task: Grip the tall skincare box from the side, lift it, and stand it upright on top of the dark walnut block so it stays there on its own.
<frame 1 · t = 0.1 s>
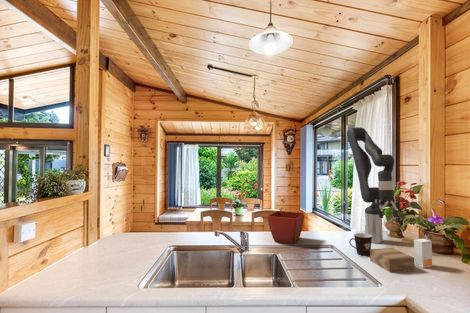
hand: (388, 217, 148), 17 cm above the worktop, tool pointing down, fingers open, 8 cm apart
coffee mug: (360, 254, 140), on the worktop
skincare box: (423, 266, 122), on the worktop
walnut block: (391, 266, 123), on the worktop
plant pot: (286, 240, 167), on the worktop
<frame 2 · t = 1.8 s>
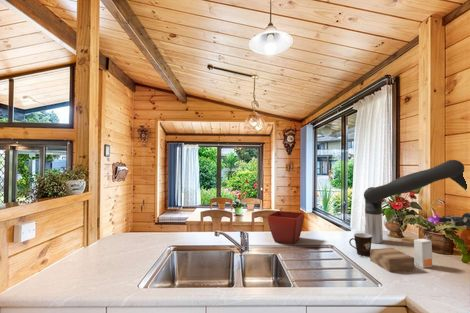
hand: (446, 222, 124), 20 cm above the worktop, tool horizontal, fingers open, 8 cm apart
nothing on the worktop moved.
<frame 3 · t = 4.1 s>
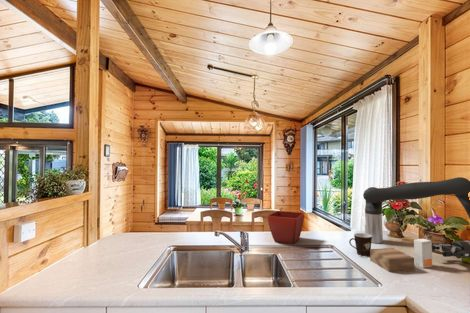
hand: (435, 251, 123), 6 cm above the worktop, tool horizontal, fingers open, 8 cm apart
nothing on the worktop moved.
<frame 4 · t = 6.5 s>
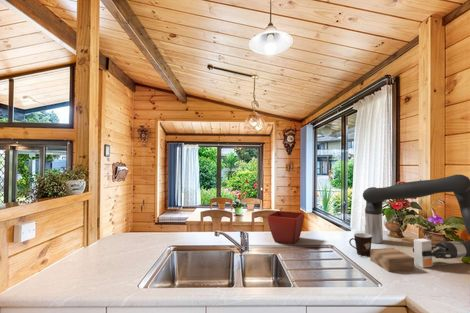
hand: (418, 252, 122), 7 cm above the worktop, tool horizontal, fingers closed on skincare box, 4 cm apart
skincare box: (423, 266, 122), on the worktop, touching gripper
everything else where it was.
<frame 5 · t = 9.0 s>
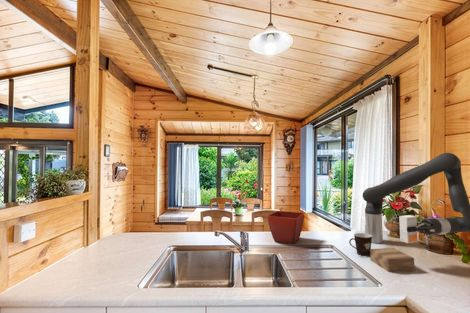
hand: (403, 228, 123), 18 cm above the worktop, tool horizontal, fingers closed on skincare box, 4 cm apart
skincare box: (409, 242, 123), point 11 cm above the worktop, touching gripper
everything else where it was.
when the fingers open (13 cm above the worktop, at t = 11.5 s): skincare box stays where it is, point 6 cm above the worktop.
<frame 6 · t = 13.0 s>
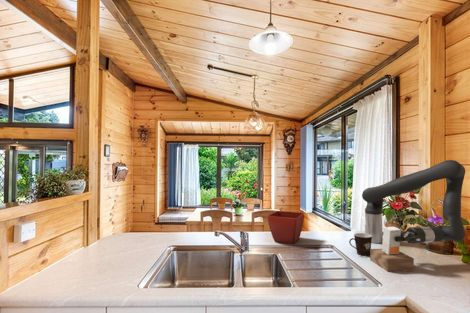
hand: (388, 236, 124), 13 cm above the worktop, tool horizontal, fingers open, 8 cm apart
skincare box: (390, 252, 124), point 6 cm above the worktop
everything else where it was.
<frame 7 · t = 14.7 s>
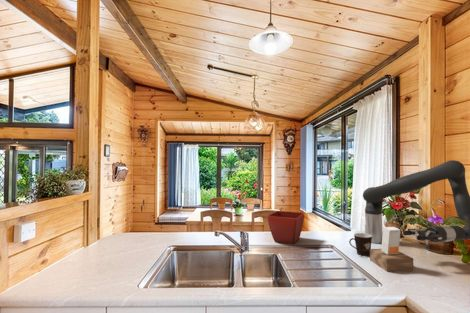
hand: (410, 235, 125), 13 cm above the worktop, tool horizontal, fingers open, 8 cm apart
nothing on the worktop moved.
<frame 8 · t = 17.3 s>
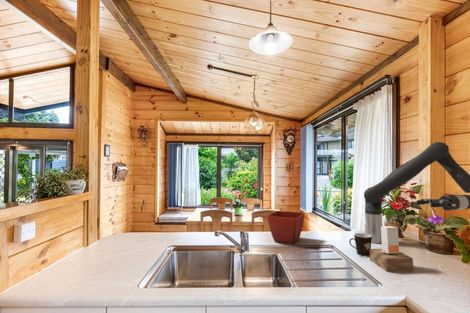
hand: (423, 203, 128), 28 cm above the worktop, tool horizontal, fingers open, 8 cm apart
skincare box: (390, 253, 123), point 6 cm above the worktop, touching walnut block
walnut block: (390, 266, 123), on the worktop, touching skincare box
everything else where it was.
at the end: skincare box inside the target area on the walnut block (0.4 cm from its centre), point 6.0 cm above the walnut block's base; skincare box tilted 4°; the gripper is holding nothing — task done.
